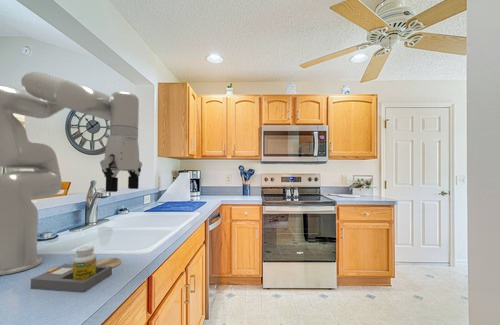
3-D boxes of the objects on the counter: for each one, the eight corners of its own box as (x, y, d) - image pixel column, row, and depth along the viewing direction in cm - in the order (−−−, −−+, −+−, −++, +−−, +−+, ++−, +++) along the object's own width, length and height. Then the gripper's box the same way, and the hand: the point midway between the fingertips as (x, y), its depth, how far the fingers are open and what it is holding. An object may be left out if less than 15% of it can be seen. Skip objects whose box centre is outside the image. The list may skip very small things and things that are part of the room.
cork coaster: (82, 270, 71) (82, 268, 71) (103, 259, 80) (103, 257, 80) (107, 271, 70) (107, 269, 70) (126, 260, 79) (126, 258, 79)
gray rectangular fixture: (30, 288, 61) (30, 277, 61) (65, 271, 70) (65, 262, 71) (83, 292, 59) (84, 281, 59) (111, 274, 69) (111, 265, 69)
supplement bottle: (96, 275, 68) (97, 243, 68) (95, 283, 63) (96, 249, 64) (73, 280, 65) (74, 247, 65) (71, 288, 60) (72, 252, 61)
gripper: (130, 138, 77) (129, 187, 76) (89, 129, 60) (88, 192, 59) (151, 137, 76) (150, 187, 76) (116, 128, 59) (114, 193, 59)
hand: (123, 190), depth 67 cm, fingers open, 9 cm apart
